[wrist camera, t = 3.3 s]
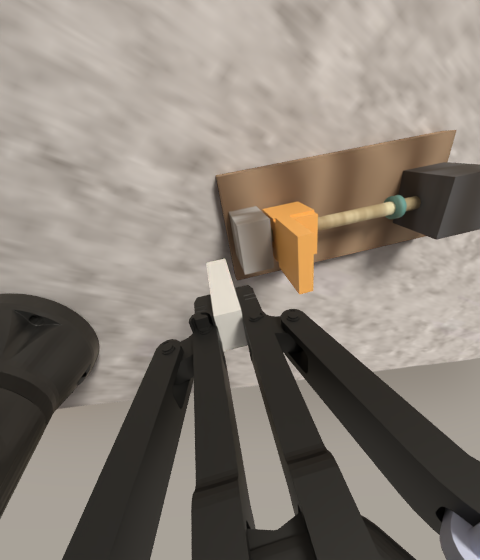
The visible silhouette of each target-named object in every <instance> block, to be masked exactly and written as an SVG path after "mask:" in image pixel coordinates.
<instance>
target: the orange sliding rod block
mask: <svg viewBox="0 0 480 560" xmlns="http://www.w3.org/2000/svg"><path fill="white" fill-rule="evenodd" d="M262 212H263V213H264V214H265V215H266V216H267V217H268V218H269V219H270V226H271V229H272V230H273V241H272V248H273V257H274V258H275V260H276V261H278V262H279V267H280V269H281V270H282V271H283V273H284V274H285V276H286V277H287V278H288V280H289V281H290V282H291V284H292V285H293V286H294V288H295V289H296V291H297V292H298V293H299V294H303V293H307V292H311V291H313V269H314V254H317V233H318V214H317V213H315V212H314V209H312V208H310V207H308V206H306V205H304V204H302V203H300V202H293V203H289V204H284V205H279V206H274V207H270V208H265V209H262Z"/></svg>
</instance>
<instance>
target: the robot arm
mask: <svg viewBox="0 0 480 560" xmlns="http://www.w3.org/2000/svg"><path fill="white" fill-rule="evenodd" d="M206 265H207V272H208V279H209V287H210V295H206V296H202V297H198V298H197V299H196V301H195V302H194V308H195V314H194V315H192V316H191V318H190V319H189V324H190V327H191V329H192V332H193V334H192V335H191V336H190V337H189V338H187V339H185V340H184V341H182V342H179V341H177V340H173V339H171V340H167V341H165V342H163V343H162V344H160V345H159V346H158V348H157V349H156V351H155V353H154V356H153V358H152V360H151V362H150V365H149V367H148V369H147V371H146V373H145V376H144V378H143V380H142V382H141V385H140V387H139V389H138V391H137V394H136V396H135V398H134V400H133V403H132V405H131V407H130V409H129V411H128V414H127V416H126V418H125V420H124V423H123V425H122V427H121V429H120V432H119V434H118V436H117V438H116V440H115V443H114V445H113V447H112V449H111V452H110V454H109V456H108V458H107V461H106V463H105V465H104V467H103V469H102V472H101V474H100V476H99V478H98V481H97V483H96V485H95V487H94V490H93V492H92V494H91V496H90V498H89V501H88V503H87V505H86V507H85V510H84V512H83V514H82V516H81V518H80V521H79V523H78V525H77V528H76V530H75V532H74V534H73V536H72V539H71V541H70V543H69V545H68V547H67V550H66V552H65V554H64V556H63V559H62V560H150V557H151V553H152V549H153V545H154V541H155V536H156V532H157V528H158V524H159V520H160V516H161V512H162V508H163V504H164V499H165V495H166V491H167V487H168V482H169V479H170V474H171V471H172V466H173V462H174V458H175V454H176V450H177V446H178V442H179V438H180V433H181V429H182V425H183V421H184V417H185V413H186V409H187V405H188V400H189V396H190V392H191V388H192V384H193V380H194V411H195V412H194V413H195V455H196V456H195V460H196V488H195V491H194V493H193V497H192V510H191V513H192V514H191V516H192V560H416V559H415V558H414V557H413V556H411V555H410V554H409V553H408V552H407V551H406V550H404V549H403V548H402V547H401V546H400V545H399V544H398V543H396V542H395V541H394V540H393V539H392V538H391V537H390V536H388V535H387V534H386V533H385V532H384V531H383V530H381V529H380V528H379V527H378V526H377V525H375V524H374V523H373V522H371V521H370V520H368V519H367V518H365V517H363V516H361V515H360V512H359V510H358V508H357V506H356V504H355V502H354V499H353V497H352V495H351V493H350V491H349V488H348V486H347V484H346V482H345V480H344V478H343V475H342V473H341V471H340V469H339V467H338V465H337V463H336V461H335V459H334V457H333V455H332V454H331V453H330V452H329V451H328V450H327V449H326V447H325V446H324V444H323V442H322V439H321V437H320V435H319V433H318V431H317V428H316V426H315V424H314V421H313V419H312V417H311V415H310V412H309V410H308V408H307V406H306V403H305V401H304V399H303V397H302V394H301V392H300V390H299V388H298V385H297V383H296V381H295V379H294V376H293V374H292V372H291V370H290V367H289V365H288V363H287V361H286V358H285V356H284V354H283V353H285V355H286V356H287V358H288V359H289V360H290V361H291V362H292V364H293V365H294V366H295V367H296V369H297V370H298V371H299V372H300V373H301V375H302V376H303V377H304V378H305V379H306V381H307V382H308V383H309V384H310V386H311V387H312V388H313V389H314V390H315V392H316V393H317V394H318V395H319V396H320V398H321V399H322V400H323V401H324V403H325V404H326V405H327V406H328V407H329V409H330V410H331V411H332V412H333V414H334V415H335V416H336V417H337V418H338V419H339V421H340V422H341V423H342V425H343V426H344V427H345V428H346V429H347V431H348V432H349V433H350V434H351V436H352V437H353V438H354V439H355V440H356V442H357V443H358V444H359V445H360V447H361V448H362V449H363V450H364V451H365V453H366V454H367V455H368V456H369V458H370V459H371V460H372V461H373V462H374V464H375V465H376V466H377V467H378V469H379V470H380V471H381V472H382V473H383V475H384V476H385V477H386V478H387V479H388V481H389V482H390V483H391V484H392V486H393V487H394V488H395V489H396V490H397V492H398V493H399V494H400V495H401V496H402V497H403V499H404V500H405V501H406V502H407V503H408V504H409V505H410V506H411V508H412V509H413V510H414V511H415V512H416V513H417V514H418V515H419V516H420V517H421V518H422V519H423V520H424V521H425V522H426V523H427V524H428V525H429V526H430V527H431V528H432V529H433V530H434V531H436V532H437V533H438V534H439V535H440V543H441V548H442V551H443V553H444V555H445V558H446V559H447V560H480V461H478V460H476V459H475V458H473V457H471V456H469V455H468V454H467V453H466V452H465V451H463V450H462V449H461V448H460V447H459V446H458V445H456V444H455V443H454V442H453V441H452V440H451V439H450V438H448V437H447V436H446V435H445V434H444V433H443V432H441V431H440V430H439V429H438V428H437V427H436V426H434V425H433V424H432V423H431V422H430V421H429V420H427V419H426V418H425V417H424V416H423V415H422V414H420V413H419V412H418V411H417V410H416V409H415V408H414V407H412V406H411V405H410V404H409V403H408V402H407V401H405V400H404V399H403V398H402V397H401V396H400V395H398V394H397V393H396V392H395V391H394V390H393V389H392V388H390V387H389V386H388V385H387V384H386V383H385V382H383V381H382V380H381V379H380V378H379V377H378V376H376V375H375V374H374V373H373V372H372V371H371V370H370V369H368V368H367V367H366V366H365V365H364V364H363V363H361V362H360V361H359V360H358V359H357V358H356V357H354V356H353V355H352V354H351V353H350V352H349V351H347V350H346V349H345V348H344V347H343V346H342V345H341V344H339V343H338V342H337V341H336V340H335V339H334V338H332V337H331V336H330V335H329V334H328V333H327V332H325V331H324V330H323V329H322V328H321V327H320V326H318V325H317V324H316V323H315V322H314V321H313V320H312V319H310V318H309V317H308V316H307V315H306V314H305V313H303V312H302V311H300V310H297V309H289V310H286V311H284V312H283V313H282V315H281V316H278V317H275V316H269V315H266V314H265V313H264V312H263V311H262V309H261V307H260V305H259V302H258V300H257V298H256V295H255V293H254V291H253V289H252V288H251V287H250V286H248V285H246V286H242V287H238V288H234V285H233V282H232V279H231V276H230V272H229V269H228V266H227V263H226V260H225V259H221V260H216V261H212V262H208V263H206ZM247 345H248V347H249V352H250V357H251V361H252V363H253V366H254V370H255V373H256V377H257V380H258V384H259V387H260V391H261V394H262V397H263V401H264V404H265V408H266V412H267V415H268V419H269V422H270V425H271V429H272V433H273V436H274V440H275V443H276V447H277V450H278V454H279V457H280V461H281V464H282V468H283V471H284V475H285V478H286V482H287V485H288V489H289V493H290V496H291V501H292V505H293V509H294V513H295V516H294V517H293V518H292V519H291V520H289V521H288V522H287V523H286V524H284V525H283V526H282V527H281V528H279V529H278V530H274V531H273V530H257V529H255V524H254V519H253V514H252V510H251V506H250V500H249V495H248V489H247V484H246V477H245V471H244V466H243V460H242V454H241V448H240V442H239V436H238V430H237V424H236V419H235V413H234V407H233V401H232V395H231V389H230V383H229V377H228V371H227V366H226V360H225V356H224V352H223V351H227V350H231V349H235V348H239V347H243V346H247ZM98 352H99V343H98V338H97V336H96V334H95V332H94V330H93V329H92V327H91V326H90V325H89V324H88V322H87V321H86V320H85V319H83V318H82V317H81V316H80V315H79V314H77V313H76V312H74V311H73V310H71V309H69V308H67V307H66V306H64V305H61V304H59V303H57V302H54V301H51V300H48V299H45V298H41V297H37V296H32V295H25V294H0V518H1V516H2V514H3V512H4V510H5V508H6V506H7V504H8V502H9V500H10V498H11V496H12V494H13V492H14V490H15V488H16V486H17V484H18V482H19V480H20V478H21V476H22V474H23V472H24V470H25V468H26V466H27V464H28V462H29V460H30V458H31V456H32V454H33V452H34V450H35V449H36V446H37V445H38V442H39V441H40V439H41V436H42V435H43V432H44V430H45V428H46V426H47V424H48V422H49V420H50V419H51V417H52V414H53V413H54V411H55V410H56V409H57V408H58V407H59V406H60V405H61V404H62V403H63V402H64V401H65V400H66V399H67V398H68V396H69V395H70V394H71V393H72V392H73V391H74V390H75V388H76V387H77V386H78V385H79V384H80V383H81V382H82V381H83V380H84V379H85V378H86V377H87V376H88V374H89V373H90V371H91V370H92V367H93V365H94V363H95V361H96V358H97V356H98Z"/></svg>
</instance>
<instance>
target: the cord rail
mask: <svg viewBox="0 0 480 560" xmlns="http://www.w3.org/2000/svg"><path fill="white" fill-rule="evenodd" d="M455 133H456V130H450V131H440V132H435V133H430V134H425V135H420V136H415V137H410V138H404V139H399V140H394V141H389V142H384V143H379V144H374V145H369V146H364V147H359V148H353V149H348V150H343V151H338V152H333V153H328V154H323V155H318V156H313V157H308V158H303V159H297V160H292V161H287V162H282V163H277V164H272V165H267V166H262V167H257V168H252V169H246V170H241V171H236V172H231V173H226V174H221V175H216V180H217V185H218V190H219V195H220V200H221V206H222V211H223V216H224V221H225V226H226V231H227V236H228V242H229V247H230V252H231V257H232V262H233V267H234V272H235V276H236V279H237V280H241V279H245V278H249V277H254V276H258V275H262V274H266V273H271V272H275V271H279V270H281V269H280V267H279V262H278V261H276V260H275V258H274V257H273V248H272V241H273V230H272V229H271V226H270V219H269V218H268V217H267V216H266V215H265V214H264V213H263V212H262V209H265V208H270V207H274V206H279V205H284V204H289V203H293V202H300V203H302V204H304V205H306V206H308V207H310V208H312V209H314V212H315V213H317V214H318V233H317V254H314V262H318V261H322V260H326V259H330V258H335V257H339V256H343V255H347V254H352V253H356V252H360V251H365V250H369V249H373V248H377V247H382V246H386V245H390V244H394V243H399V242H403V241H407V240H411V239H416V238H420V237H424V236H428V237H431V238H434V239H441V238H445V237H449V236H453V235H458V234H462V233H466V232H470V231H474V230H479V229H480V165H477V164H462V163H448V158H449V155H450V151H451V147H452V144H453V140H454V137H455Z"/></svg>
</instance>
